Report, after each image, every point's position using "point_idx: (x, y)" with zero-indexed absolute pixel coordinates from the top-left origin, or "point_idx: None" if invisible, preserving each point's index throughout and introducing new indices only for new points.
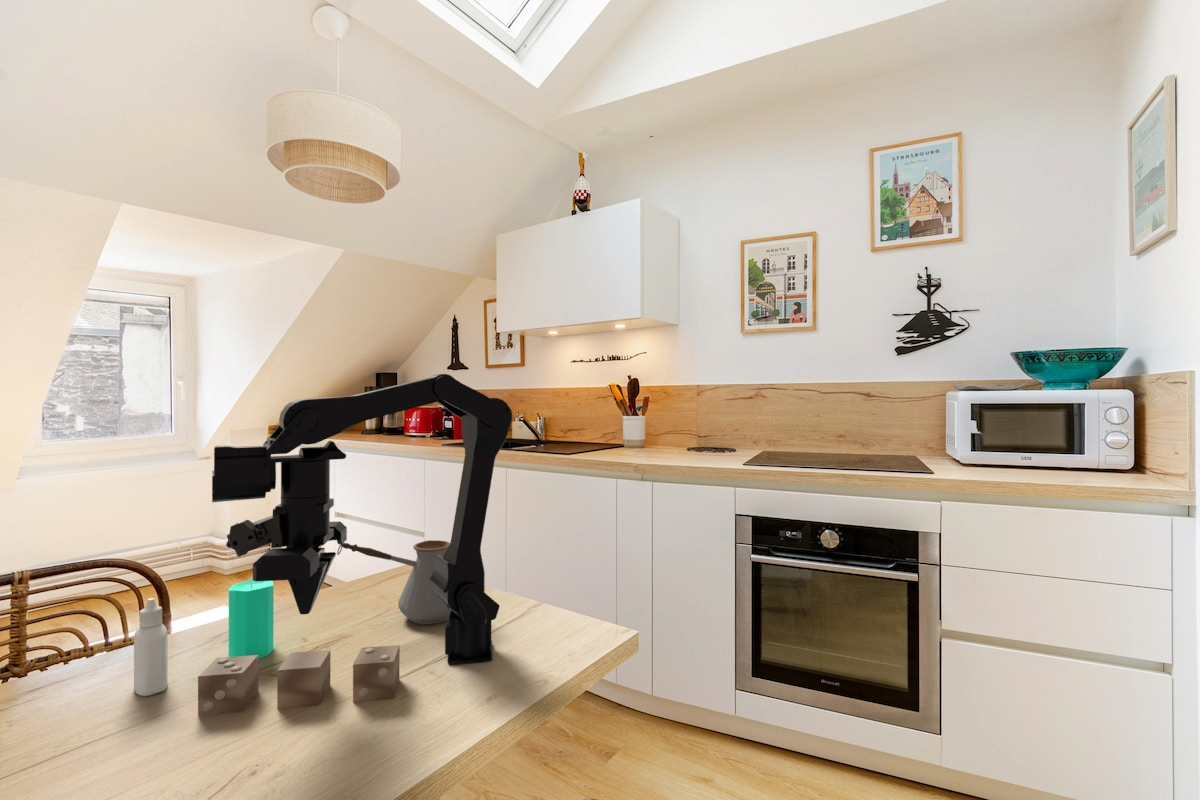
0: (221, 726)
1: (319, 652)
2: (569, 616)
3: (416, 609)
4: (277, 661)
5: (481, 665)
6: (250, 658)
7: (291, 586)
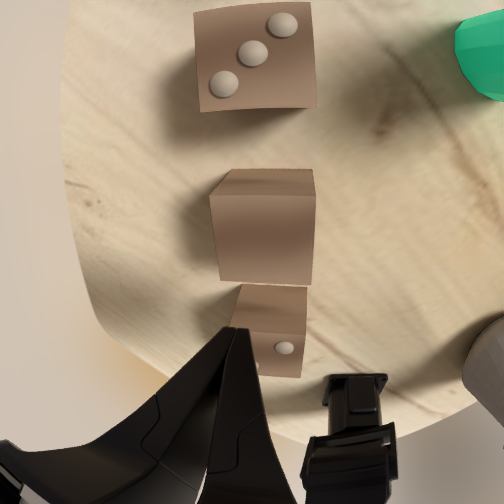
0: (180, 95)
1: (301, 265)
2: (399, 435)
3: (483, 352)
4: (447, 113)
5: (316, 395)
6: (294, 93)
7: (128, 417)
